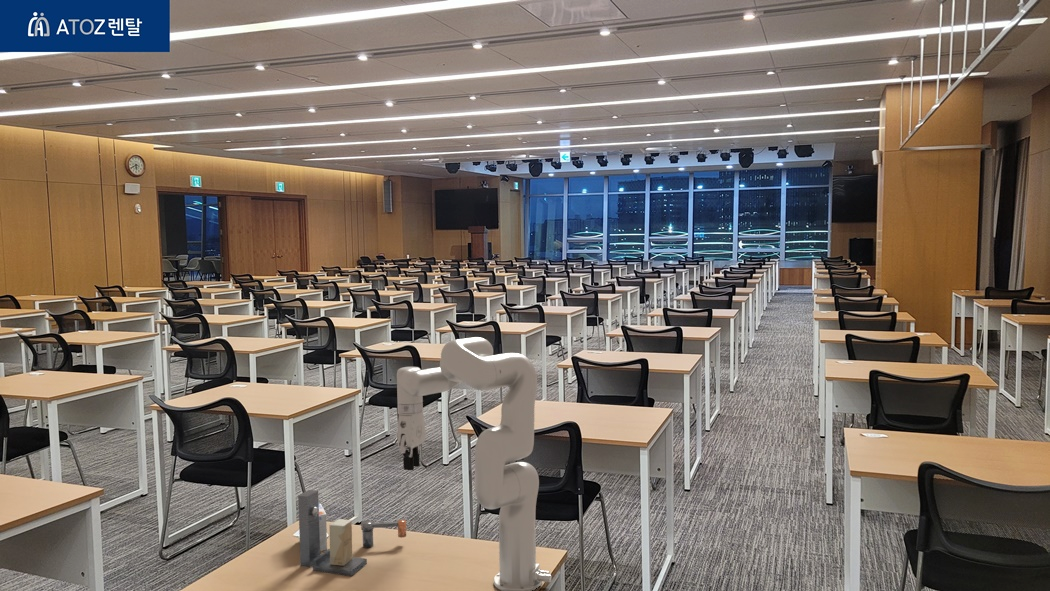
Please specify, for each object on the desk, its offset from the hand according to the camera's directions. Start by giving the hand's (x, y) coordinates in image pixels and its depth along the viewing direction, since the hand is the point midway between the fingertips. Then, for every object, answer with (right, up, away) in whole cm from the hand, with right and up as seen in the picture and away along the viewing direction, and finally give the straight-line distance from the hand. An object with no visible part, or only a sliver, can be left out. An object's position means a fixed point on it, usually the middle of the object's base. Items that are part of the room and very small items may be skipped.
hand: (411, 467), depth 222 cm
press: (-19, -23, -20) cm, 36 cm away
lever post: (-12, -22, -6) cm, 26 cm away
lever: (-7, -19, -6) cm, 21 cm away
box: (-16, -21, -20) cm, 34 cm away
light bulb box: (-28, -22, -5) cm, 36 cm away
